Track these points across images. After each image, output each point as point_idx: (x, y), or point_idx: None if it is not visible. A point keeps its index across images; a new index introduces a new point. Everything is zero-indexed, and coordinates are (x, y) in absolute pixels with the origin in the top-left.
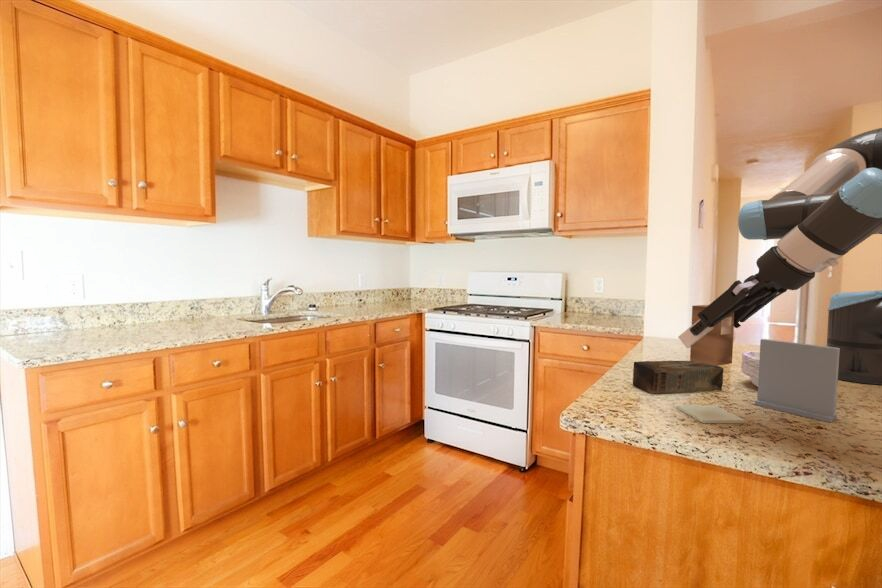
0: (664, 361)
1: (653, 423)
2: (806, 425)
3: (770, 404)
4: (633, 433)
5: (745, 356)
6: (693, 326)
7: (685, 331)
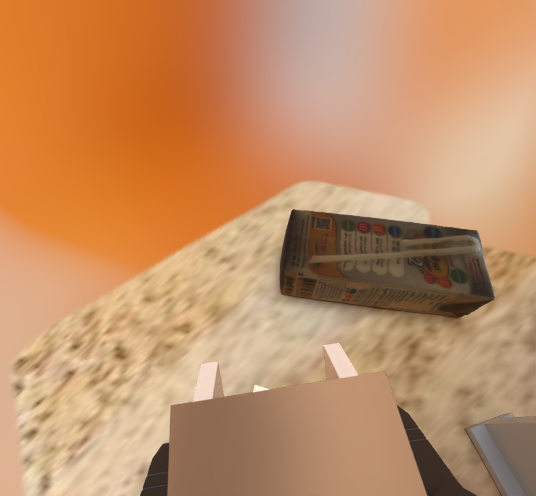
0: (365, 225)
1: (123, 449)
2: None
3: (493, 467)
4: (27, 487)
5: None
6: (144, 483)
7: (195, 397)
